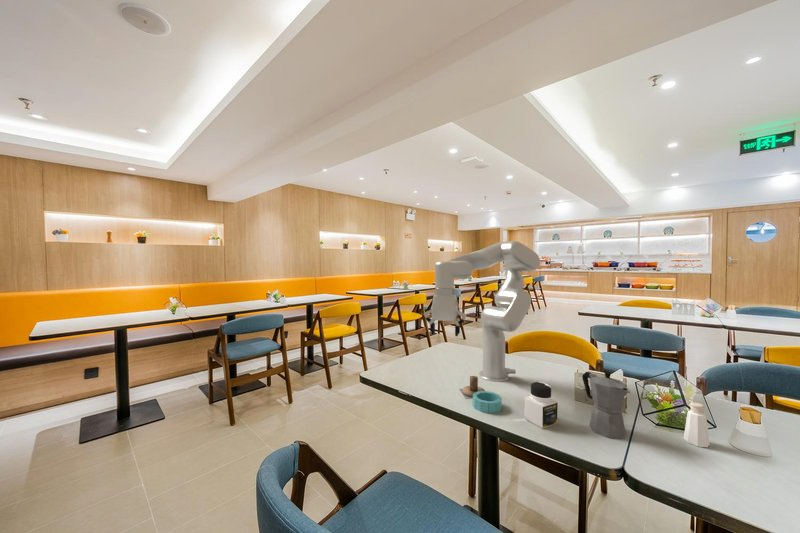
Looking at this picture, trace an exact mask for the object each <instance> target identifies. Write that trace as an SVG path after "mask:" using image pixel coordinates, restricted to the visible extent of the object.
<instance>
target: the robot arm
mask: <svg viewBox="0 0 800 533" xmlns="http://www.w3.org/2000/svg"><path fill="white" fill-rule="evenodd" d="M500 263H503V265H504V269H505V280H504V281H503V283H502V285H501V287H500V288H499V290H498V291H497V293H496V295H495V297H494V303H495V305H496V306H493V305H492V306H491V305H490V306H487V307H485V308H483V310H482V311H481V313H480V322H481V327H482V328H481V329H482V370H481V371H479V373H478V376H479V377H480V378H481V379H483V380H486V381H489V382H496V383H497V382H500V383H501V382H506V381H508V380H509V379H510V378H509V375H510V374H513V375H515V374H517V371H516V369H515V368H510V367H506V336H505V333H504V332H508V333H513V332H515V331H516V330H518V329H519V327H520V326H521V324H522V322H523V320H524V318H525V317H526V315H527V313H528V312H529V310H530V307H531V304H532V297H531V295H530V293H529V292H528V291H527V290H525V289H523V288H524V285H525V280H524V278H523V275H522V272H534V271H537V270H538V269H539V268H540V265H541V258H540V256H539V255H538V253H537V252H535V251H534V250H533V249H531V248H530V247H528V246H527V245H525V244H524V243H522V242H520V241H517V240H509V241H499V242H496V243H494V244H491V245H489V246H486V247H484V248H482V249H478V250H475V251H472V252H469V253H466V254H462V255H460V256H456V257H454V258H451V259H450V260H447V261H436V262H435V264H434V289H435V290H434V295H433V298H432V303H431V304H432V306H431V309H430V310H427V311H425V312H424V313H423V316H424V317H425V320H426V321H427V322H428V324H429V330H430V332H431V335H435V333H436V323H435V322H436V321H442V322H443V321H445V322H453V323H454V324H455V326H454V336H455V337H458V336H459V335H460V329H461V325H462V324H463V323H464V322H465V320H466V318H467V314H466V313H464V312H463V311H460V310H459V306H458V299H457V295H455V294H459V293H458V289H456V288H455V279H456V280H467V279H469V278H471V276H473V273H474V271H477V270H478V271H479V270H484V269H485V270H486V269H488V268H491V267H493V266H495V265H497V264H500ZM429 314H431V317H430V316H429ZM459 316H460V317H461V319H460V320H459V318H458V317H459Z"/></svg>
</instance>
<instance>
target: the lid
mask: <svg viewBox="0 0 800 533" xmlns="http://www.w3.org/2000/svg"><path fill="white" fill-rule="evenodd" d="M462 389H463V394H464V395H465V396H467V397H471V398H473V394H474V393H475V392H478V391H486V390H485V389H484V388H483V387H480V386H479V377H478V376H477V375H476V376H475V375H471V376H469V385H467V386H464V387H462ZM463 394H462V395H463ZM464 395H463V396H464Z"/></svg>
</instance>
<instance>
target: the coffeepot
mask: <svg viewBox="0 0 800 533" xmlns="http://www.w3.org/2000/svg"><path fill="white" fill-rule="evenodd" d="M611 375H612V373H611V372H610V371H604V376H600V375H599V376H598V375H597V374H595V373H592V372H589V371H585V372H584V373H583V374H582V376H581V378H582V382H583V386H584V390H585V392H586V397H587V398H589V399H591V400H592V401H593V402H594V405H593V407H592V411H591V415H590V421H589V425H588V426H589V428H590V429H591V430H592V431H593V432H594V433H596V434H598V435H600V436H602V437H605V438H610V439H617V440H619V439H623V438H624V437H625V436H626V435H627V433H626V428H625V427H626V426H625V421H624V417H623V412H622V407H623V405H624V401H625V396H627V394H630V393H631V391H630V389H629V388H628V387H627V385H628V384H627V383H625V382H623V381H621V380H620V379H616V378H612V377H611Z"/></svg>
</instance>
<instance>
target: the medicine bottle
mask: <svg viewBox="0 0 800 533" xmlns="http://www.w3.org/2000/svg"><path fill="white" fill-rule="evenodd" d="M523 400H524V414H523V415H524V416H523V417H524V419H525V420H526V421H528V422H530V423H531V424H534V425H535V426H537V427H539V428H541V429H547V428H549V427H552V426H554V425H556V424H558V414H559V413H558V412H559V410H558V408H559V407H558V403H559V402H558V401H557V400H555V399H553V398H552V387H551V385H550V384H548V383H546V382H541V381H535V382H532V383H531V384H530V395H528V396H525V397H524V399H523Z"/></svg>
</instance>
